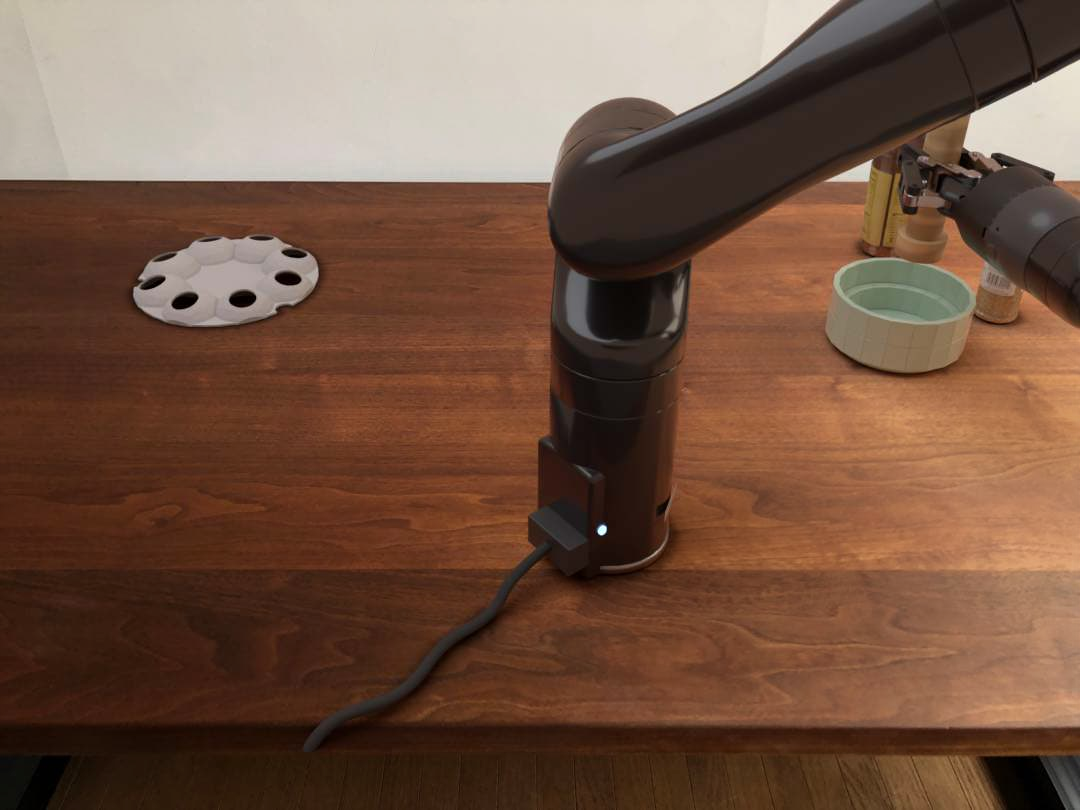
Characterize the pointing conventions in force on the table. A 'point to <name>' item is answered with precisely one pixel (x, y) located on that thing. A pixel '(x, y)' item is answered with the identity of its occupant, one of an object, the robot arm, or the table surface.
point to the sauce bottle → (884, 205)
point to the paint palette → (225, 280)
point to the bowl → (899, 314)
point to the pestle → (926, 227)
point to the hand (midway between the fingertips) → (923, 151)
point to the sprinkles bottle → (996, 297)
